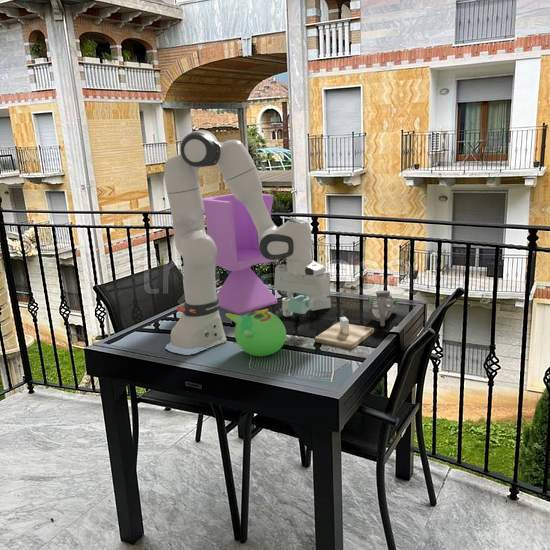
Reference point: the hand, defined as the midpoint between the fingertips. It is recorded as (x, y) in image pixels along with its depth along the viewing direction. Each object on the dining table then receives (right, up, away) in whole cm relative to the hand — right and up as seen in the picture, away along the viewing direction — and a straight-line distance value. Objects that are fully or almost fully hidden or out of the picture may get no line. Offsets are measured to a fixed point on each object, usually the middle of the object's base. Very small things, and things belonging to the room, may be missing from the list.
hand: (301, 305), depth 187 cm
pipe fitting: (+32, -5, +12) cm, 34 cm away
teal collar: (0, -2, 0) cm, 2 cm away
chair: (-22, -2, +38) cm, 44 cm away
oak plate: (+15, -11, -4) cm, 19 cm away
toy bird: (-14, -15, -13) cm, 24 cm away
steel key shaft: (+15, -9, -5) cm, 18 cm away
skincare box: (+9, -3, +27) cm, 29 cm away
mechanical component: (+29, -8, +3) cm, 30 cm away
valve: (-1, -6, +19) cm, 20 cm away
